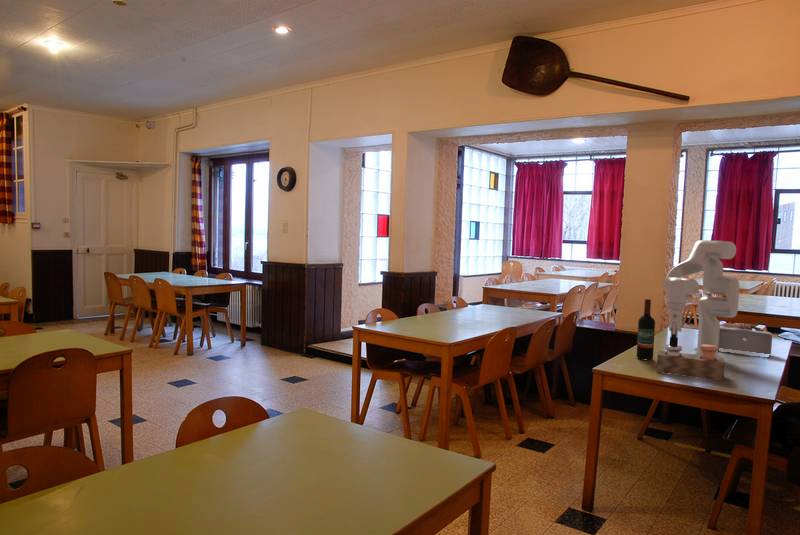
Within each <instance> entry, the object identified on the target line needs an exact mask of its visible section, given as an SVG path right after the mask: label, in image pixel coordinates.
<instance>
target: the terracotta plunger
mask: <svg viewBox="0 0 800 535" xmlns="http://www.w3.org/2000/svg"><path fill="white" fill-rule="evenodd" d="M700 349H702V359H705V360H713V361H715V355H716V351H718V346H714V345H707V344H702V345H700Z"/></svg>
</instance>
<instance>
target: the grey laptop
mask: <svg viewBox="0 0 800 535" xmlns="http://www.w3.org/2000/svg"><path fill="white" fill-rule="evenodd" d="M744 339H746V340H744ZM772 345H773V333H772V332H769V331H764V330H763V331H761V330H753V329H743V328H736V327H724V326H720V336H719V348H723V349H732V350H741V351H749V352H756V353H764V354H770V355H769V358H768V359H770V358H771V355H772Z"/></svg>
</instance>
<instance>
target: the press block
mask: <svg viewBox="0 0 800 535" xmlns="http://www.w3.org/2000/svg"><path fill="white" fill-rule="evenodd" d="M721 357H722V356H720V357H715V361H713V360H705V359H702V355H695V353H693V354H692V353H685V352H684V353H683V352H680V356H671V355H667V350H660V349H659V351H658V353H657V360H656V361H657V363H656V364H657V367H656V373H659V372H664V373H663V374H666V373H671V374H670V375H674V374H678V375H677V376H681V375H685V376H684V377H689V376H691V377H690V378H696V377H698V379H703V378H705V380H713V381H718V380H719V382H720V381H721V382H724V378H725V365H726V362H725V358H724V357H722V358H721Z"/></svg>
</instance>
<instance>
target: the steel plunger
mask: <svg viewBox="0 0 800 535" xmlns="http://www.w3.org/2000/svg"><path fill="white" fill-rule="evenodd" d="M664 347H665V348H664V349H665V351H667V355H671V356H680V353H681V351H683V346H681V345H679V344H678V345H677V347H674V346H670V343H667V344H665V346H664Z"/></svg>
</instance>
